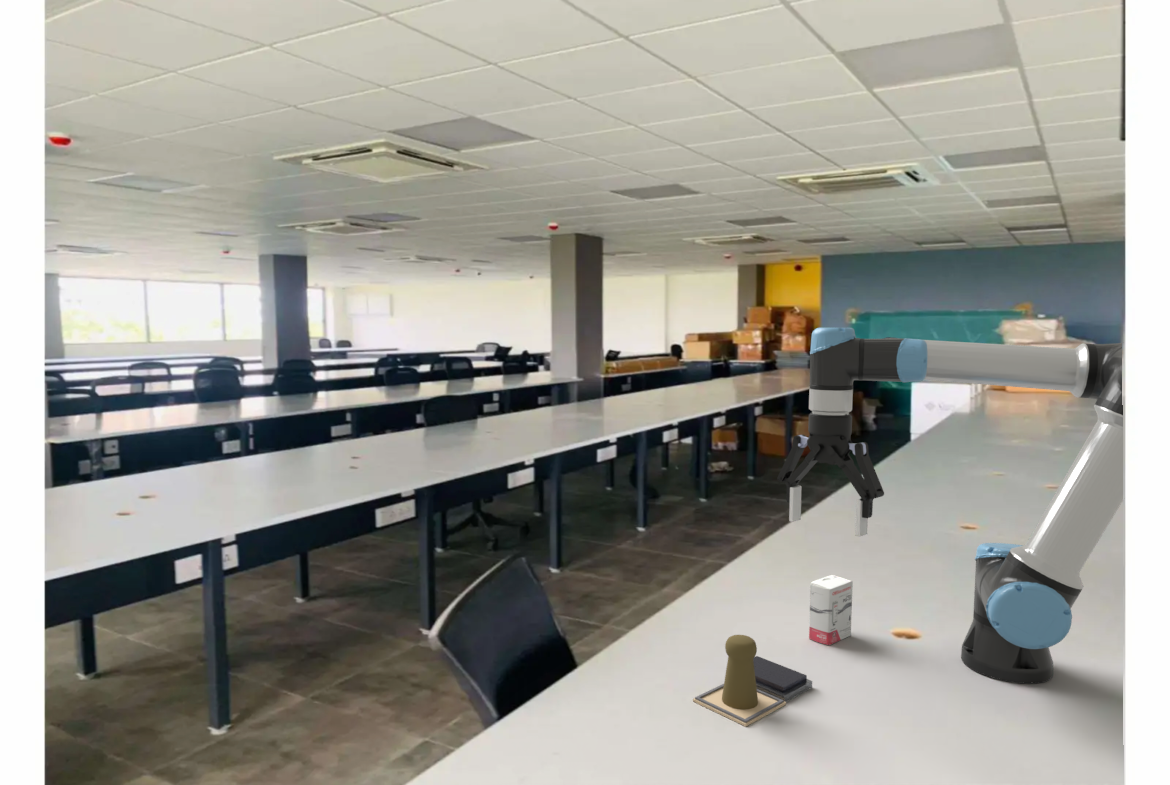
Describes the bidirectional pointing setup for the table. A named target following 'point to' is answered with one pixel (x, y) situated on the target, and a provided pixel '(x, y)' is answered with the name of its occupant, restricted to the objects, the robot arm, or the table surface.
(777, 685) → the ink pad
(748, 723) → the print card
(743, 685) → the olive chess pawn
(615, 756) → the table surface
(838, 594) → the ink box
